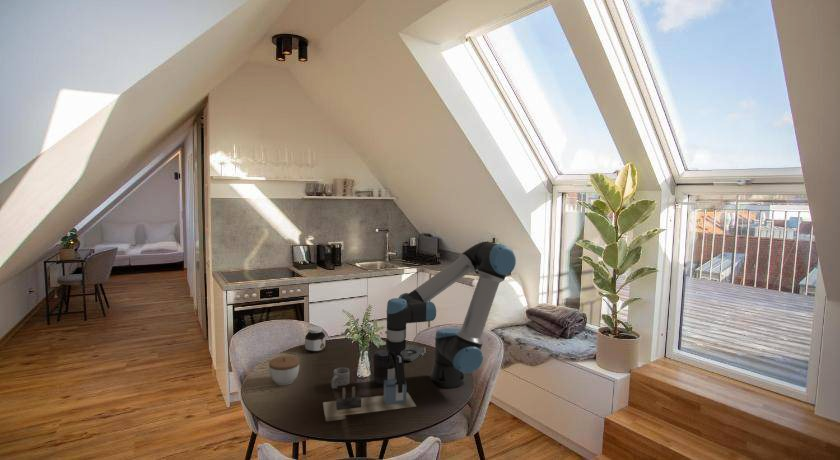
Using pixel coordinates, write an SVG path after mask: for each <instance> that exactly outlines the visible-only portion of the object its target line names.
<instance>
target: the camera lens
mask: <svg viewBox="0 0 840 460" xmlns="http://www.w3.org/2000/svg"><path fill="white" fill-rule="evenodd" d="M388 351H389V350H387V349H380V350H379V349H378V350H376V351H375V352H374V354H373V366H374V367H373V382H374V383H373V384H374V386H376V387H380V388H384V380H388V369H389V368H387V366H388V365H387V364H386V363H387V357H388Z"/></svg>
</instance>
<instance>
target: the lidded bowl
mask: <svg viewBox="0 0 840 460" xmlns="http://www.w3.org/2000/svg"><path fill="white" fill-rule="evenodd" d="M300 361H301V360H300V359H299V357H296V356H292V355H283V356H278V357H275V358H272V359H270V360H269V362H268V366H269V367H268V368H269V375H270V378H271V379H272V381H274V382H275V384H276V385H278V386H287V385H290V384H292V383H294V381H295V380H296V379H297V377H298V376H299V371H300V364H301V363H300Z"/></svg>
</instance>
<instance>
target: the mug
mask: <svg viewBox="0 0 840 460" xmlns="http://www.w3.org/2000/svg"><path fill="white" fill-rule="evenodd" d="M330 382H331V385H330V386H331V389H332V390H334V389H336V390H339V387H343V386H347V385H350V369H349V368H348V367H338V368H335V369H334V370H333V377H332V378H331V381H330Z"/></svg>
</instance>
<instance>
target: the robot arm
mask: <svg viewBox="0 0 840 460" xmlns="http://www.w3.org/2000/svg"><path fill="white" fill-rule="evenodd" d="M516 261H517V259H516V255H515V253H514V251H513V250H512V249H511V247H509V246H507V245H505V244H501V243H500V244H499V243H496V242H490V241H481V242H478V243H476V244H474V245H472V246H470V247H469V248H468V249H466V250H464V251H463V252H462V253H460V254H459V258H458V259H456V260H455V261H453V262H452V263H450V264H449V265H448V266H446V267H444V268H443V269H442V270H440V271H439V272H437V273H436V274H435V275H433V276H432V277H431V278H429V279H427V280H426V281H425V282H423V283H422V284H420V285H419V286H417V287H416V288H415V289H413V290H412V291H410V292H409V293H408V292H404V293H402V294H400V295H399V296H398V298H397V297H396V298H395V297H394V298H390V299H388V300H387V304H386V331H384V334H386V341H385V344H386V346H385V350H389V351H388V357H387V363H386V364H387V365H388V366H387V368H389V369H388V380H391V379H396V380H397V383H395V385H396V401H399V400H403V384H405V381H406V378H405V377H406V375H405V367H404V366H405V364H404V360H403V359H404V358H403V357H402V354H401V352H402V351H403V350H405V348H406V344H407V341H406V339H407V324H413V323H427V322H433V321H434V320H435V319H436V317H437V307H436V305H435V303H434V302H433V301H431V300H432V299H434V298H436V297H437V296H438V295H440V294H441V293H442V292H444V291H445V290H447V289H448V288H449V287H451V286H452V285H454V284H455V283H456V282H458V281H460V280H461V279H462V278H464V277H465V276H466V275H467V274H469V273H475V272H476V271H477V272H478V275H479V276H478V280H477V283H476V286H475V289H474V292H473V294H472V297H471V299H470V304H469V306H468V309H467V312H466V315H465V317H464V320H463V323H462V326H461V329H459V328H451V327H450V328H440V329H438V330H436V331H435V332H436V333H435V337H434V340H435V342H434V345H435V346H434V347H435V348H434V356H435V357H434V364H433V367H432V370H431V373H430V381H431V382H432V384H433V385H434V386H436V387H440V388H447V389H448V388H449V389H450V388H451V389H452V388H453V389H454V388H459V387H462V386H463V385H464V384H465V383H466V382H465V380H466V379H465V378H466V377H465V376H466V375H465V374H472V373H474V372H476V371H477V370H478V369H479V368H480V367H481V365H482V364H483V361H484V355H483V352H482V346H483V343H484V342H483V340H482V335H483V332H484V329H485V326H486V324H487V320H488V317H489V315H490V313H491V312H490V311H491V309H492V306H493V303H494V300H495V297H496V294H497V292H498V288H499V285H500V283H502V282H504V281H505V278H506V276H507V275H508V274H509V275H510V274H511V273H512V272H513V271H514V269H515V266H516V264H517V262H516Z"/></svg>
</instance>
